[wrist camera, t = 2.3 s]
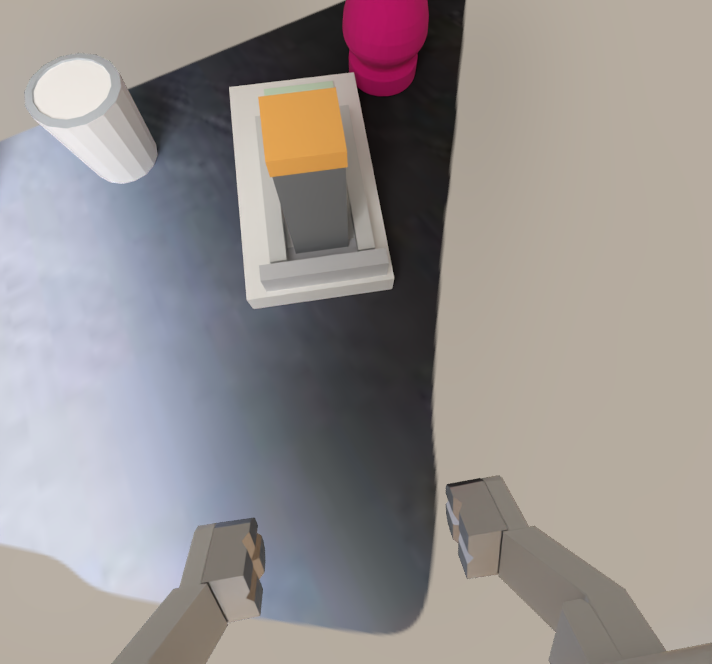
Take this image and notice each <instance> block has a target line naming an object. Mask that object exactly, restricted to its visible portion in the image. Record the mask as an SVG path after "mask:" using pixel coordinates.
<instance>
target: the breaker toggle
mask: <svg viewBox="0 0 712 664" xmlns="http://www.w3.org/2000/svg"><path fill="white" fill-rule="evenodd" d="M258 100H259V109H260V118H261V128H262V137H263V146H264V155H265V163H266V166H267V169H268V172H269V176H270V177H272V178H273V181H274V184H275V188H276V191H277V194H278V197H279V201H280V204H281V207H282V210H283V214H284V217H285V220H286V223H287V227H288V230H289V233H290V236H291V240H292V243H293V246H294V249H295V253H296V254H299V253H306V252H313V251H320V250H327V249H335V248H342V247H349V245H348V218H347V191H346V167H348V162H347V148H346V142H345V136H344V131H343V125H342V119H341V114H340V108H339V103H338V97H337V91H336V87H334V88H326V89H318V90H310V91H302V92H293V93H285V94H277V95H269V96H260V97H258Z"/></svg>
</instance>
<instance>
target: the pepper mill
mask: <svg viewBox="0 0 712 664" xmlns="http://www.w3.org/2000/svg"><path fill="white" fill-rule="evenodd" d="M428 20H429V11H428V1H427V0H346V3H345V6H344V12H343V35H344V39H345V41H346V44H347V46H348V47H349V49H350V50H349V73H352V72H354V75H355V80H356V86H357V87H358V88H359V89H360V90H362V91H363V92H365V93H368V94H370V95H374V96H391V95H395V94H398V93H400V92H402V91H403V90H405V89H406V88H407V87H408V86H409V85H410V84H411V83H412V81H413V79H414V76H415V71H416V65H417V58H418V55H417V53H418V51H419V50H420V49H421V47H422V46H423V44H424V42H425V40H426V36H427V31H428Z"/></svg>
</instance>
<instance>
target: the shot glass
mask: <svg viewBox="0 0 712 664" xmlns="http://www.w3.org/2000/svg"><path fill="white" fill-rule="evenodd" d="M24 94H25V107H26V109H27V110H28V111H29V113H30V114H31V116H32V117H33V119H34V120H35V121H37V122H38V123H39V124H40V125H41V126H42V127H44V128H45V129H46V130H47V131H48V132H49V133H50V134H52V135H53V136H54V137H55V138H56V139H57V140H58V141H60V142H61V143H62V144H63V145H64V146H65V147H67V148H68V149H69V150H70V151H71V152H72V153H73V154H75V155H76V156H77V157H78V158H79V159H80V160H81V161H83V162H84V163H85V164H86V165H87V166H88V167H90V168H91V169H92V170H93V171H94V172H95V173H96V174H98V175H99V176H100V177H101V178H103V179H105V180H107V181H109V182H113V183H122V184H123V183H127V182H132V181H136V180H137V179H139V178H141V177H142V176H144V175H146V174H147V173H148V172H149V171H150V169H151V168H152V167H153V166H154V164H155V161H156V158H157V155H158V153H157V147H156V143H155V141H154V140H153V138H152V136H151V134H150V132H149V130H148V128H147V126H146V124H145V122H144V120H143V118H142V116H141V114H140V112H139V110H138V108H137V106H136V104H135V103H134V101H133V99H132V97H131V95H130V93H129V91H128V89H127V87H126V85H125V83H124V81H123V79H122V77H121V75H120V73H119V72H118V71H117V69H116V68H115V67H114V66H113V64H112V63H111V62H110V61H108V60H106V59H104V58H102V57H100V56H98V55H94V54H85V53H76V54H71V55H66V56H61V57H58V58H57V59H55V60H53V61H51V62H49V63H47V64H45V65H43V66H42V67H41V68H40V69H39V70H38V71H37V72H36V73H35V74H34V75H33V76H32V77H31V79H30V81H29V83H28V85H27V88H26V90H25V92H24Z"/></svg>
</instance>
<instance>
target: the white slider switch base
mask: <svg viewBox="0 0 712 664" xmlns="http://www.w3.org/2000/svg"><path fill="white" fill-rule="evenodd" d="M334 87H336V91H337V97H338V103H339V108H340V114H341V119H342V125H343V131H344V136H345V142H346V148H347V162H348V167H346V191H347V218H348V245H349V247H342V248H335V249H327V250H320V251H313V252H306V253H299V254H296V253H295V249H294V246H293V243H292V240H291V236H290V233H289V230H288V227H287V223H286V220H285V217H284V214H283V210H282V207H281V204H280V201H279V197H278V194H277V191H276V188H275V184H274V181H273V178H272V177H270V176H269V172H268V169H267V166H266V163H265V155H264V146H263V137H262V128H261V118H260V109H259V100H258V97H260V96H269V95H277V94H285V93H293V92H302V91H310V90H318V89H326V88H334ZM229 92H230V104H231V116H232V128H233V140H234V152H235V164H236V176H237V188H238V200H239V212H240V224H241V236H242V248H243V260H244V272H245V284H246V297H247V301H248V302H249V304H250V305H251V306H252V308H253V309H257V308H264V307H271V306H278V305H285V304H292V303H299V302H306V301H313V300H320V299H327V298H334V297H341V296H348V295H355V294H361V293H368V292H375V291H382V290H389V289H392V287H393V283H394V274H393V269H392V264H391V259H390V254H389V249H388V244H387V238H386V233H385V228H384V223H383V218H382V213H381V208H380V203H379V198H378V193H377V187H376V182H375V177H374V172H373V167H372V162H371V157H370V152H369V147H368V142H367V137H366V131H365V126H364V121H363V116H362V111H361V106H360V101H359V96H358V91H357V86H356V80H355V75H354V72H352V73H343V74H335V75H327V76H319V77H310V78H302V79H294V80H285V81H277V82H269V83H260V84H252V85H244V86H235V87H229Z"/></svg>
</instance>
